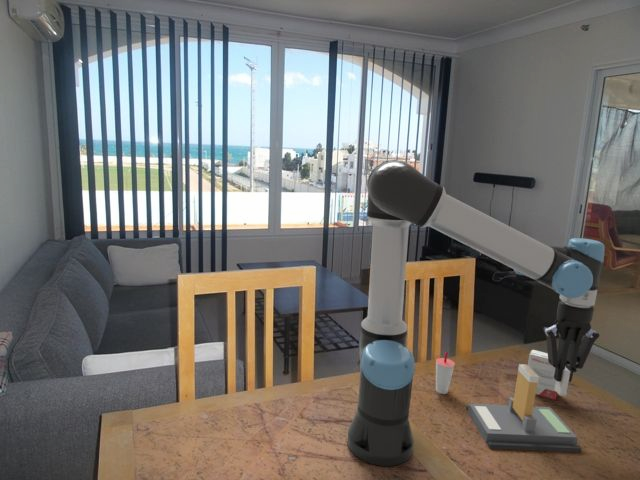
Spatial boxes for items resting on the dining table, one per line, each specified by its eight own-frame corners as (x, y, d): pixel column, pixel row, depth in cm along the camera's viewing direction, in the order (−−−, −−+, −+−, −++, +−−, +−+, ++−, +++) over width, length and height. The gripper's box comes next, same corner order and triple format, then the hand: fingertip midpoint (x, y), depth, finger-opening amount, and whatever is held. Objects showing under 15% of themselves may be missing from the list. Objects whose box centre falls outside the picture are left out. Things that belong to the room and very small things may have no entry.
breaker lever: (522, 423, 113) (530, 376, 110) (511, 409, 119) (518, 364, 116) (531, 423, 113) (539, 376, 110) (519, 409, 119) (526, 364, 116)
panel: (485, 442, 110) (489, 421, 109) (467, 411, 122) (470, 392, 121) (575, 446, 110) (580, 425, 109) (548, 415, 123) (551, 396, 122)
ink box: (557, 393, 135) (563, 356, 133) (555, 400, 131) (562, 362, 129) (525, 384, 140) (531, 348, 138) (523, 390, 136) (529, 353, 133)
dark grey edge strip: (489, 448, 108) (489, 444, 108) (487, 445, 109) (488, 441, 109) (580, 451, 108) (581, 448, 108) (578, 449, 109) (579, 445, 109)
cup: (438, 384, 136) (443, 346, 134) (454, 391, 133) (459, 353, 130) (428, 389, 133) (433, 351, 130) (445, 397, 129) (450, 358, 127)
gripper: (558, 306, 106) (542, 399, 111) (613, 309, 107) (594, 402, 111) (542, 296, 114) (527, 383, 118) (593, 299, 114) (577, 386, 119)
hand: (560, 392), depth 115 cm, fingers closed
